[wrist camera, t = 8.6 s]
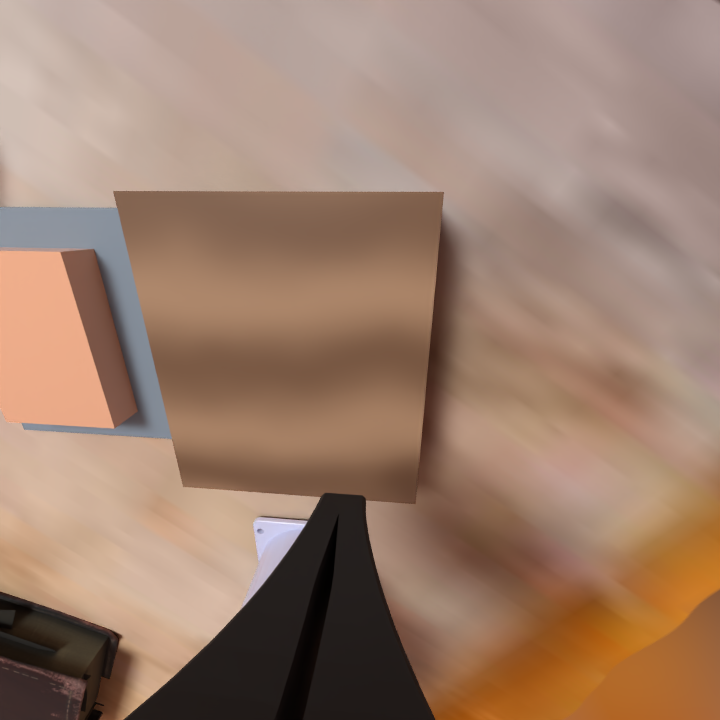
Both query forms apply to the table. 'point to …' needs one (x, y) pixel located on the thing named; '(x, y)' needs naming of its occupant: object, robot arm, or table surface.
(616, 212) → the table surface
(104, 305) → the block
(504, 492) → the table surface
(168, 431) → the mat
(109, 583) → the table surface
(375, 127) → the table surface
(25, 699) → the diary
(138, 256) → the board
